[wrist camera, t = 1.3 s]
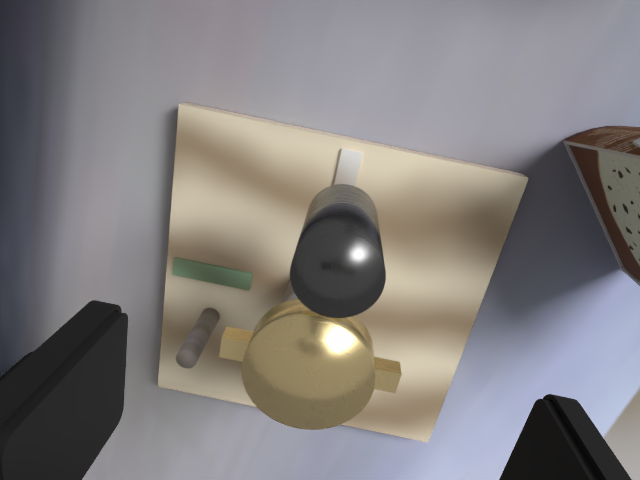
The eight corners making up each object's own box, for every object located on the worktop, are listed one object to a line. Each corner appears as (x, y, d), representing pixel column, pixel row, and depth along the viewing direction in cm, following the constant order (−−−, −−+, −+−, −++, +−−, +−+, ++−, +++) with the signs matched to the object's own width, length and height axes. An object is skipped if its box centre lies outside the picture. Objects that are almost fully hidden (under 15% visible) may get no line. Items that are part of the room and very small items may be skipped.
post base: (186, 102, 26) (131, 116, 20) (521, 173, 27) (575, 210, 20) (164, 375, 34) (119, 450, 28) (425, 429, 34) (442, 516, 28)
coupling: (249, 163, 20) (210, 203, 15) (449, 205, 20) (485, 261, 15) (219, 383, 25) (179, 477, 19) (381, 417, 25) (389, 520, 19)
